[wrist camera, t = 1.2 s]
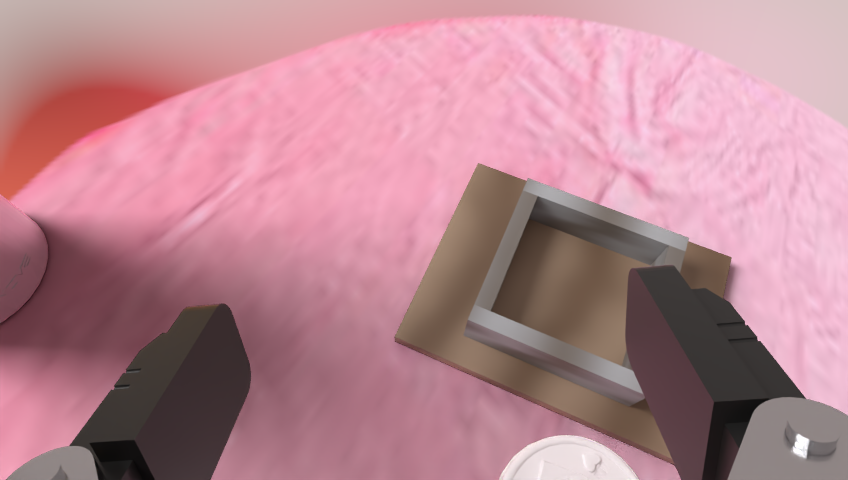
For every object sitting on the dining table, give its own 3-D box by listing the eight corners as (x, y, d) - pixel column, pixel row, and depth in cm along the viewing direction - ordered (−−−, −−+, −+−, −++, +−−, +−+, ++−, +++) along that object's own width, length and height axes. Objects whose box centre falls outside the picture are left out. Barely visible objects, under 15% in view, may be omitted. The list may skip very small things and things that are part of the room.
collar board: (395, 341, 35) (393, 321, 31) (476, 170, 41) (482, 137, 37) (679, 467, 32) (713, 460, 28) (724, 263, 38) (756, 236, 34)
